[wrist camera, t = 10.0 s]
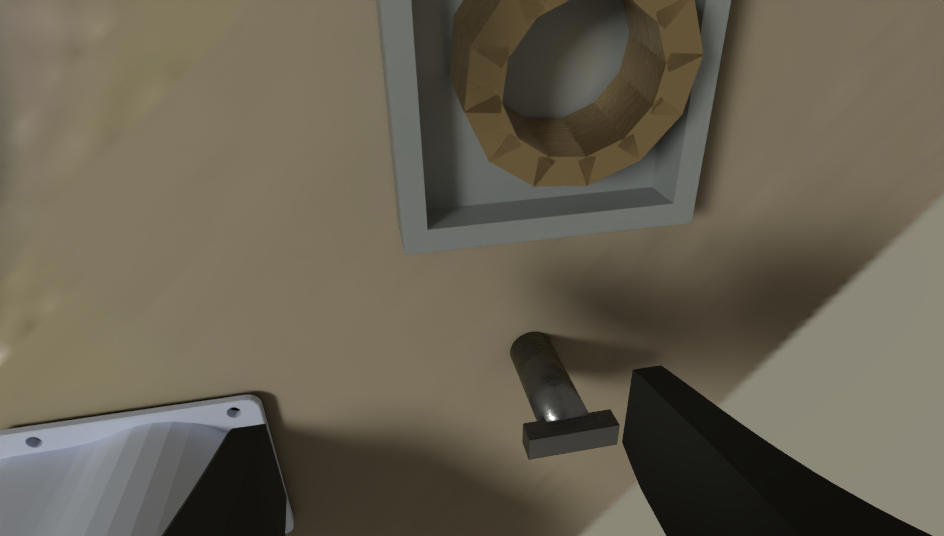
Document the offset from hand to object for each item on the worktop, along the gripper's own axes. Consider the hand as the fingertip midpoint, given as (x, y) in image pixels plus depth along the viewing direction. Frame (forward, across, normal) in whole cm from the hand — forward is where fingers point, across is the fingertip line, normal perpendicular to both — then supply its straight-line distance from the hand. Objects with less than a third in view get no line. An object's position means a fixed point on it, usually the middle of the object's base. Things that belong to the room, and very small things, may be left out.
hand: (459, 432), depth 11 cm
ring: (+9, -5, -7) cm, 12 cm away
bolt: (+10, -4, +7) cm, 13 cm away
